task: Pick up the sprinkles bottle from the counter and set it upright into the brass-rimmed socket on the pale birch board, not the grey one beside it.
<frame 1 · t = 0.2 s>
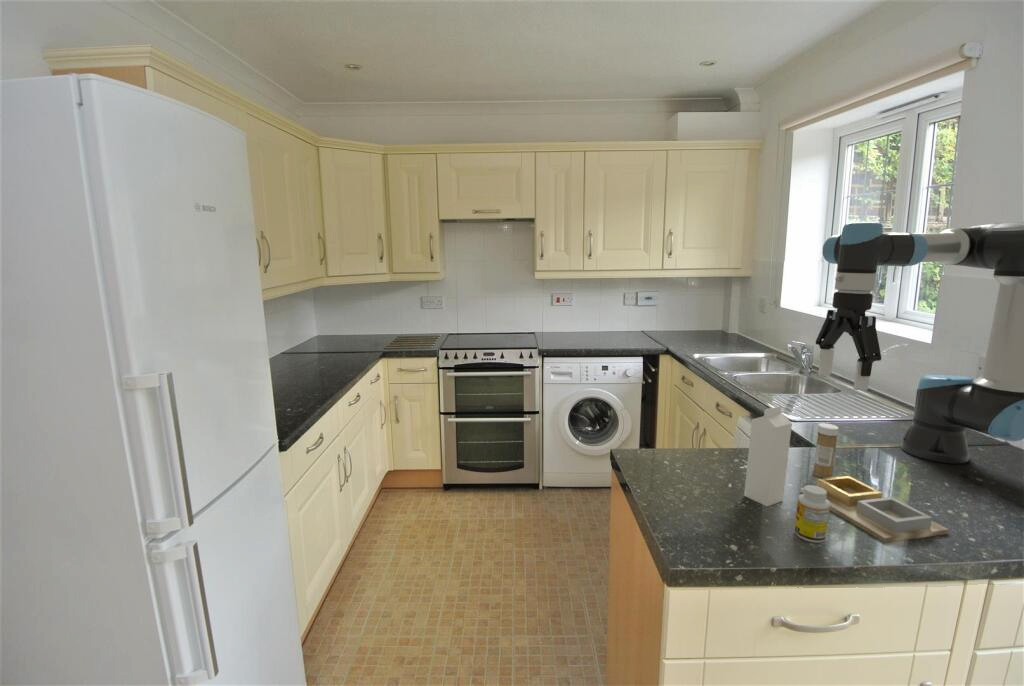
hand: (841, 382, 120), 27 cm above the worktop, tool pointing down, fingers open, 13 cm apart
supplement bottle: (809, 537, 103), on the worktop
brass socket collar: (847, 499, 119), resting on birch socket board
birch socket board: (868, 511, 114), on the worktop
milk: (763, 499, 119), on the worktop
sprinkles bottle: (822, 475, 132), on the worktop
grey socket collar: (891, 524, 108), resting on birch socket board
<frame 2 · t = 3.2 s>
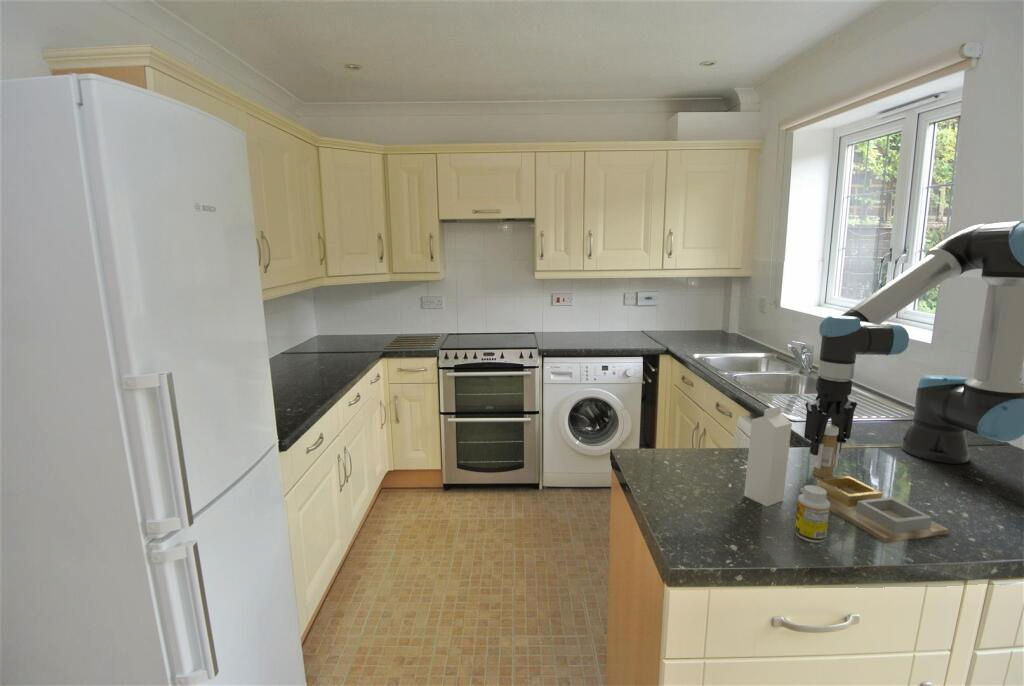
hand: (823, 465, 131), 3 cm above the worktop, tool pointing down, fingers closed on sprinkles bottle, 4 cm apart
sprinkles bottle: (822, 475, 132), on the worktop, touching gripper
everything else where it was.
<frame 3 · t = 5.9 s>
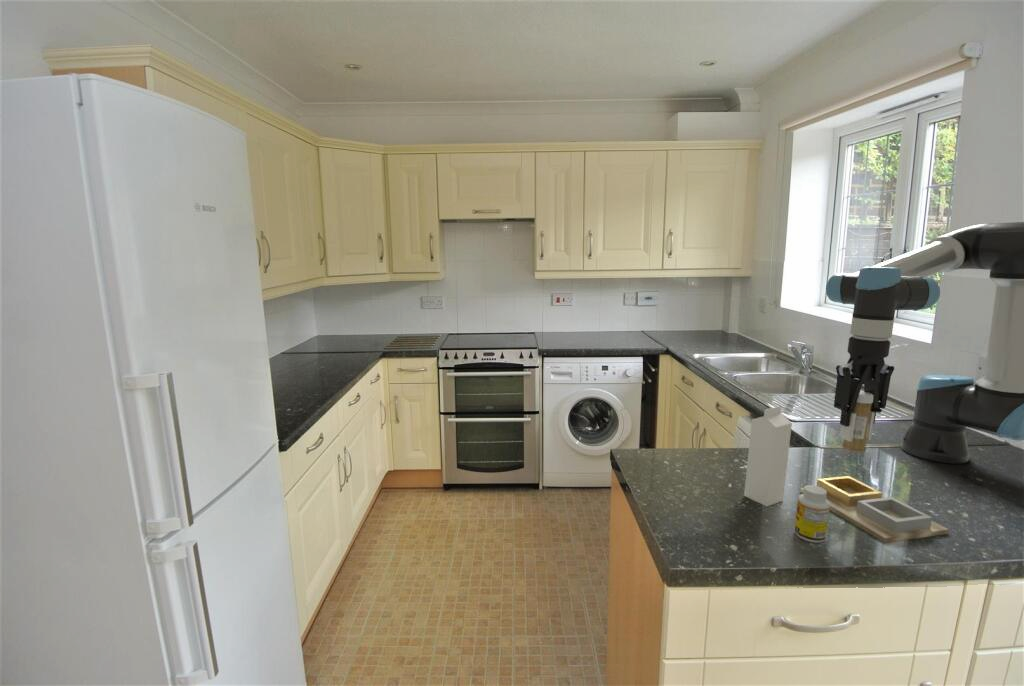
hand: (855, 438, 116), 15 cm above the worktop, tool pointing down, fingers closed on sprinkles bottle, 4 cm apart
sprinkles bottle: (853, 450, 117), point 12 cm above the worktop, touching gripper
everything else where it was.
when the fingers open (4 cm above the worktop, at t = 9.0 s): sprinkles bottle stays where it is, resting on birch socket board.
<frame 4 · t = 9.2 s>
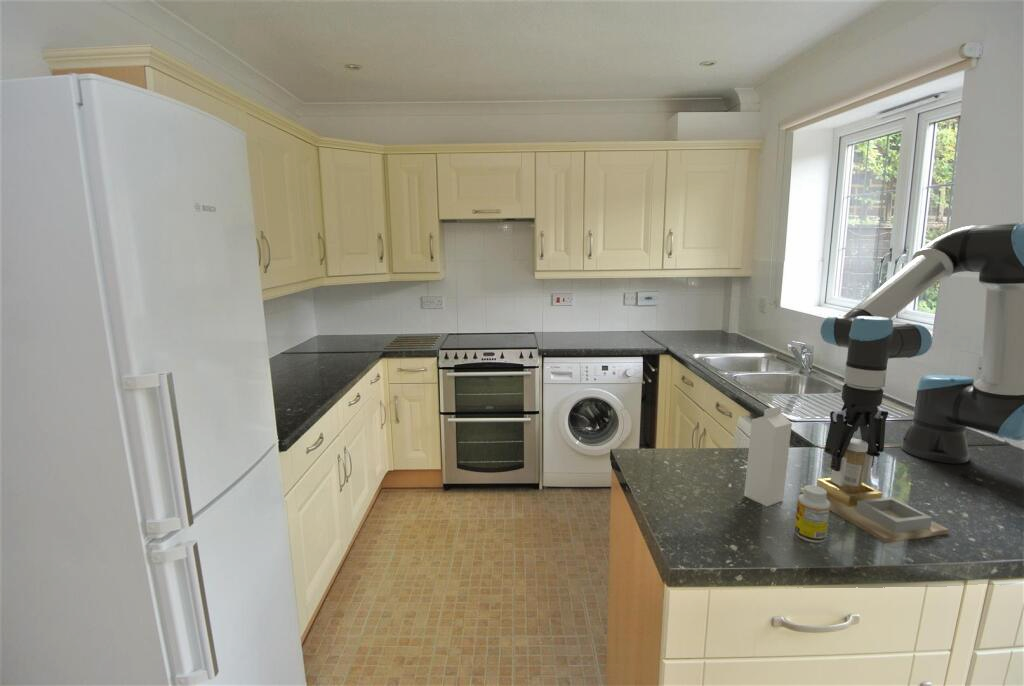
hand: (849, 481, 118), 4 cm above the worktop, tool pointing down, fingers open, 7 cm apart
sprinkles bottle: (847, 496, 119), point 1 cm above the worktop, touching birch socket board
everything else where it was.
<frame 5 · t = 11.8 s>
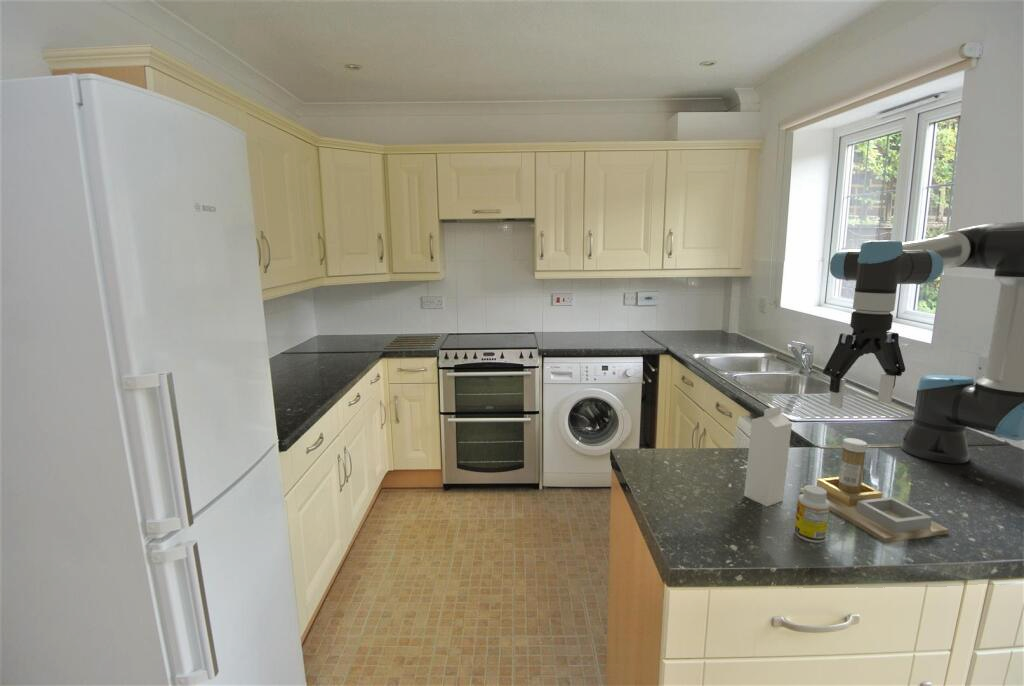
hand: (860, 404, 116), 23 cm above the worktop, tool pointing down, fingers open, 13 cm apart
nothing on the worktop moved.
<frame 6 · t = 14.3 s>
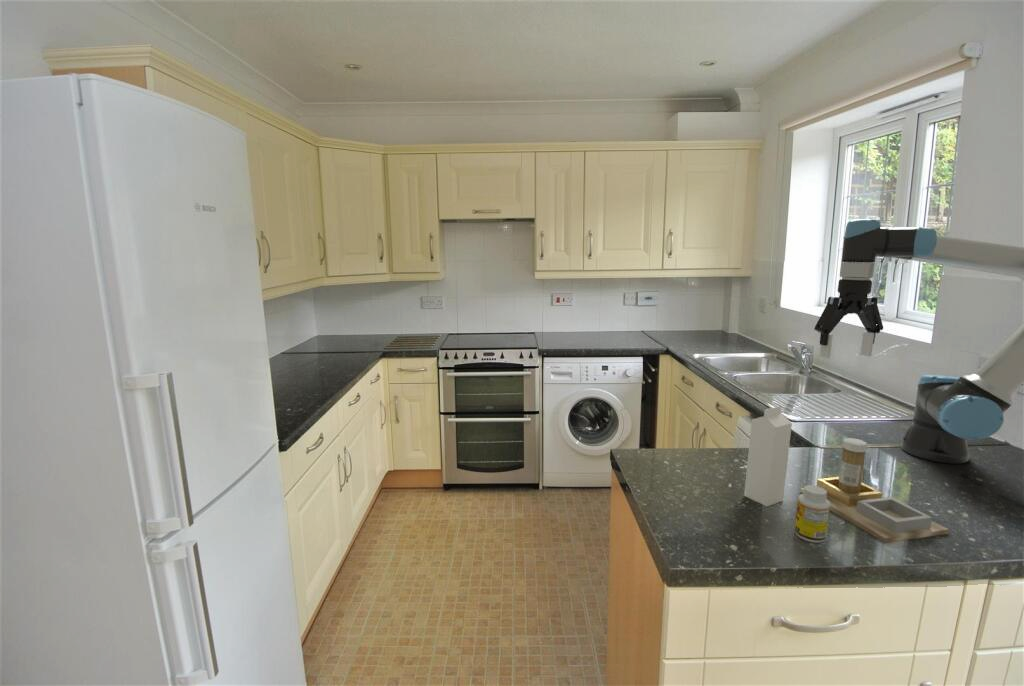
hand: (845, 356, 140), 29 cm above the worktop, tool pointing down, fingers open, 13 cm apart
nothing on the worktop moved.
at the end: sprinkles bottle 0.0 cm from the target spot, point 0.8 cm above the worktop; sprinkles bottle tilted 0°; the gripper is holding nothing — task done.
